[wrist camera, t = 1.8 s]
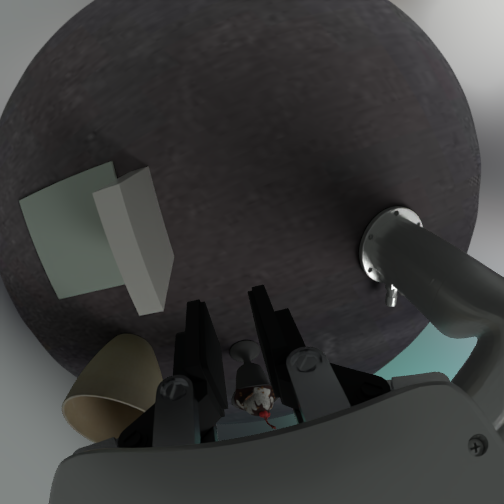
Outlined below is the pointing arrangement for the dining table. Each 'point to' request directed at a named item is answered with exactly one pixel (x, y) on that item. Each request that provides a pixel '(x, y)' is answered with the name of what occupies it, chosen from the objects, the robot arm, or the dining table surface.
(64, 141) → the dining table surface
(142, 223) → the tile
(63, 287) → the mat
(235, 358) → the sundae
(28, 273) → the dining table surface
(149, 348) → the plant pot
